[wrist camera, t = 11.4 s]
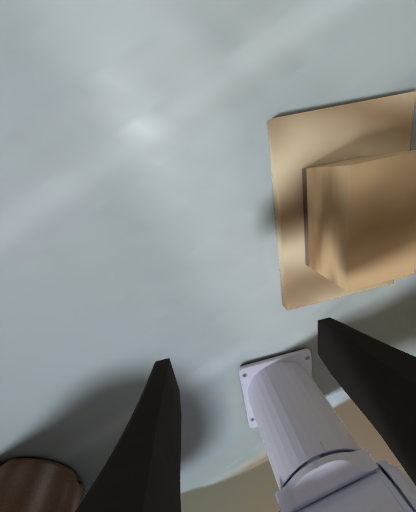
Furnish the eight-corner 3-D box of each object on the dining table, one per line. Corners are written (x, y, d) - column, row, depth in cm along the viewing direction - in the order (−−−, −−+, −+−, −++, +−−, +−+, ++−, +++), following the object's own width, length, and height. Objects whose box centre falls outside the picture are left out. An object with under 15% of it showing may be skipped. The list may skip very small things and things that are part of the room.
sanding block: (357, 251, 20) (414, 274, 15) (305, 264, 20) (346, 291, 15) (362, 156, 17) (433, 147, 13) (302, 168, 17) (351, 165, 12)
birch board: (384, 279, 23) (393, 283, 22) (282, 304, 22) (287, 310, 21) (403, 95, 17) (416, 90, 16) (267, 121, 16) (273, 117, 15)
